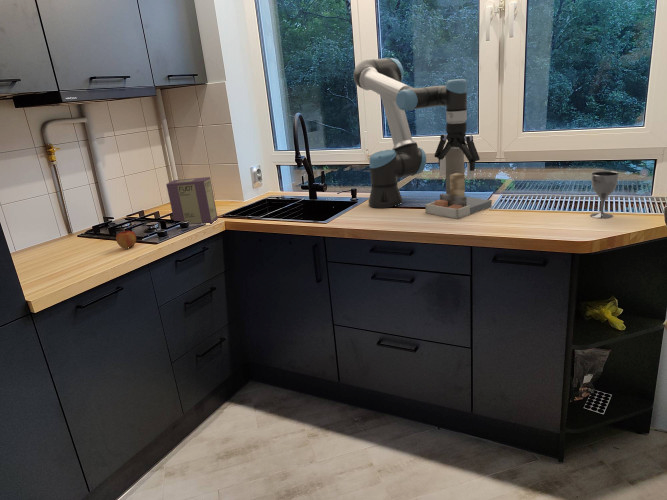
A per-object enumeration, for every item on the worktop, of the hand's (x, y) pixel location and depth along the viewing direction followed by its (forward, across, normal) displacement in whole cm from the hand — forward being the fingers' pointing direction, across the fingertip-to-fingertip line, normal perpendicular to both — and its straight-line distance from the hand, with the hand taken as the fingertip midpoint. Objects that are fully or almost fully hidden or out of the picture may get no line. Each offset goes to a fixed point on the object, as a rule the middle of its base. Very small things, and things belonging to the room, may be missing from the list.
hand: (456, 177), depth 188 cm
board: (+14, +1, +4) cm, 14 cm away
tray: (+13, +1, -7) cm, 15 cm away
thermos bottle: (+14, -14, +16) cm, 26 cm away
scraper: (+11, +1, 0) cm, 11 cm away
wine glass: (+12, +48, +20) cm, 53 cm away
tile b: (+13, +4, -6) cm, 14 cm away
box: (+16, -83, -78) cm, 115 cm away
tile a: (+11, -2, -5) cm, 12 cm away
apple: (+16, -72, -112) cm, 134 cm away
